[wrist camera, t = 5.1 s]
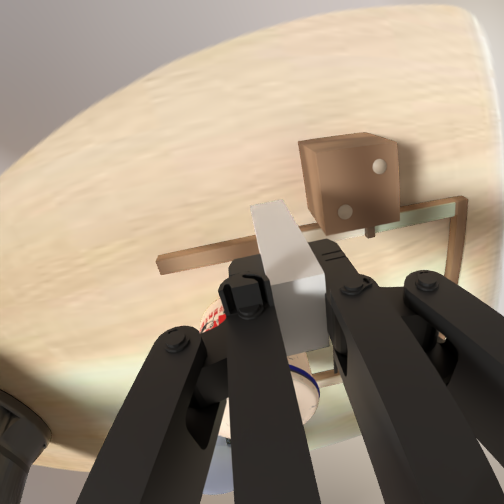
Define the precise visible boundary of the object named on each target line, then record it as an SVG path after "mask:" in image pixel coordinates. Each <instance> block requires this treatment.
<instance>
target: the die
mask: <svg viewBox="0 0 504 504" xmlns="http://www.w3.org/2000/svg"><path fill="white" fill-rule="evenodd" d="M298 145H299V151H300V158H301V164H302V170H303V177H304V184H305V190H306V197H307V205H308V209H309V211H310V212H311V214H312V215H313V217H314V218H315V220H316V221H317V223H318V224H319V226H320V227H321V229H322V231H323V232H324V234H325V235H326V236H329V235H334V234H339V233H344V232H349V231H354V230H359V229H364V228H369V227H374V226H379V225H383V224H388V223H393V222H398V221H400V185H399V163H398V148H397V142H394V141H391V140H388V139H385V138H382V137H379V136H375V135H372V134H369V133H365V132H363V133H354V134H346V135H338V136H331V137H324V138H317V139H310V140H304V141H298Z"/></svg>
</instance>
